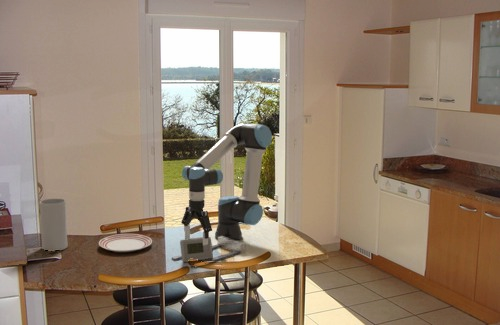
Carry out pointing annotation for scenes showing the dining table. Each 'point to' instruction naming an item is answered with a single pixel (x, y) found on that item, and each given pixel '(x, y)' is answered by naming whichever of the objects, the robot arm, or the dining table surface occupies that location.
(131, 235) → the dinner plate
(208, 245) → the digital clock
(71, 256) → the dining table surface
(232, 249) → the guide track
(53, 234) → the cylinder vase
